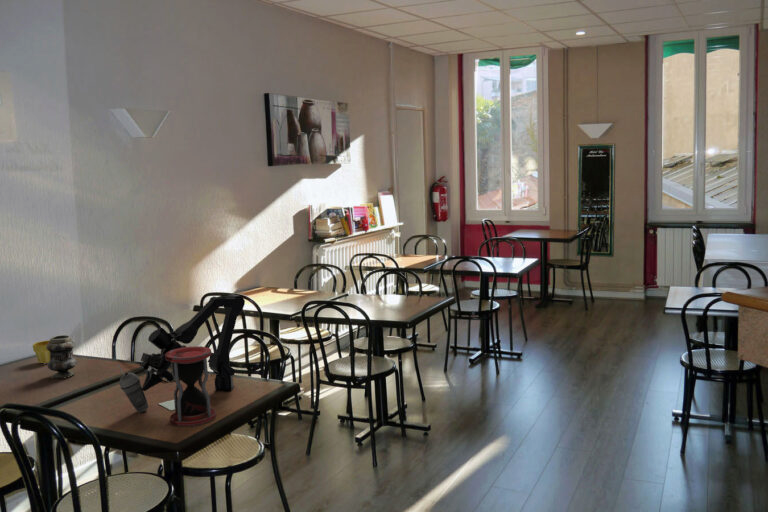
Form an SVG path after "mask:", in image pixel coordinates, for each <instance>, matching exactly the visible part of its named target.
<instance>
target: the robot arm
mask: <svg viewBox="0 0 768 512" xmlns="http://www.w3.org/2000/svg"><path fill="white" fill-rule="evenodd" d="M245 303H246V300H245V299H244V297H243V296H242V295H238V294H233V293H232V294H231V293H230V294H228V295H226V296H223V295H221V296H212V297H210V299H209V301H207V303H206V304H204V305H203V306H202V308H201V309H200V310H199V311H198V312H196V314H194V315H193V317H192V318H191V319H190V320H188V321H187V322H185V323H183V324H181V325H180V326H179V327H177V328H176V329H175V330H173V331H171V332H168V331H166V329H164V328H163V327H161V326H159V327H158V328H157V329H155V330H154V331H153V332H151V333H150V334H149V336H148V337H147V338H148V342H149V343H151V345H153V346H155V347H156V348H157V349H159V350H162V352H161V353H160V352H158V353H151V354H150V353H146V352H142V355H141V358H140V361H141V363H140V364H139V367H141V369H143V370H144V371H145V373H146V374H145V375H146V376H145V379H144V382H143V385H142V386H141V387H142V389H143V392H146V391H147V390H149V389H151V388H153V387H155V386H156V385H158V384H159V383H162V382H163V383H164V380H162V379H163V378H165V379H167V381H168V383H173V382H174V381H173V380H174V378H173V375H172V374H171V373H170V372H169V371H168V370H170V369H169V368H170V367H172V365H171V362H169V361H167V360H166V359H165V354H166V353H167V352H169V351H171V350H174V349H178V348H184V347H187V346H186V345H187V344H188V345H189V344H191V342H193V340H194V339H195V338H196V336H197V334H198V332H199V329H200V328H201V327H202V325H203V326H204V324H205V323H206V321H208V319H209V318H210V317H211V316H213V314H214V313H215V312H216V311H217V310H218V309H219V308H223V309H224V310H223V311H224V315H225V316H224V319H223V323H222V326H221V327H222V328H221V331H220V334H219V339H218V343H217V347H216V349H215V351H213V352H212V351H211V353H212V354H211V356H209V357H208V358H209V359H207V363H208V367H209V369H210V370H211V371H212V373H213V374H215V378H214V389H215V392H231V391H232V390H233V389H234V388H235V384H234V378H233V376H235V372H236V369H234V368H233V367H232V366H231V365H230V360H231V359H230V352H229V351H230V347H231V343H232V338H233V335H234V330H235V326H236V323H237V318H239V315H240V314H241V313H242V312H243V309H244V306H245ZM174 341H175V342H174ZM180 343H182V344H180ZM183 344H185V345H183Z"/></svg>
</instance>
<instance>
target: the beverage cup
mask: <svg viewBox="0 0 768 512" xmlns="http://www.w3.org/2000/svg"><path fill="white" fill-rule="evenodd" d="M117 367H118V369H119V371H120V372H121V373H122V376H121V377H120V378H119V386H120V387H119V388H120V389H121V390H122V391H123V393H124V394H125V395H126V397H127V398H128V400H129V402H130V403H131V405H132V406H133V408H134V410H136V413H138V412H139V413H142V412H145V411H146V410H147V409H148V408H149V407H150V406H149V404H148V400H147V398H146V394H145V391H143V389H142V387H143V386H142V383H141V380H140V377H139V376H138V375H137V374H136V373H133V372H126V373H125V372H124V371H123V369H122V368H121V366H120V365H119V364H117ZM139 413H138V414H139Z"/></svg>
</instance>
